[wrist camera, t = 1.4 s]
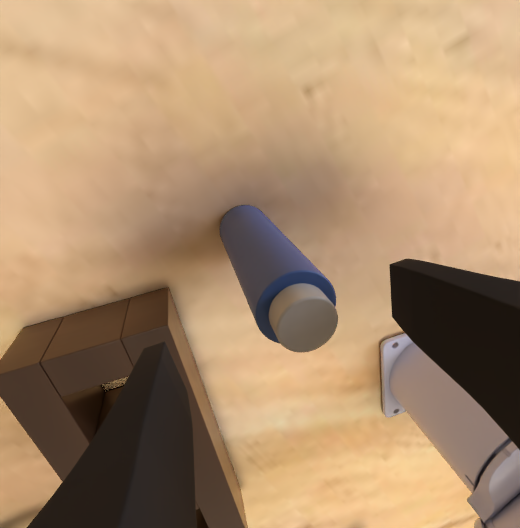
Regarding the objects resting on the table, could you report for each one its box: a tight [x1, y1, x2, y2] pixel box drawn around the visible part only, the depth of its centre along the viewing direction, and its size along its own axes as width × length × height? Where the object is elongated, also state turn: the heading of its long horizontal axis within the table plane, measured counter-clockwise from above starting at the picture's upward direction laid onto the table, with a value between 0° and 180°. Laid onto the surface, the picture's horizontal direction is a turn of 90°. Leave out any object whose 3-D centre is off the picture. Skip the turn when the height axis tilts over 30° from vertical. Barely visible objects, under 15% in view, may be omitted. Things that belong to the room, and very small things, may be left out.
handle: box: [220, 205, 338, 352], centre depth 15 cm, size 3×3×10 cm
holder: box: [0, 287, 248, 528], centre depth 21 cm, size 8×20×4 cm, turn 11°
